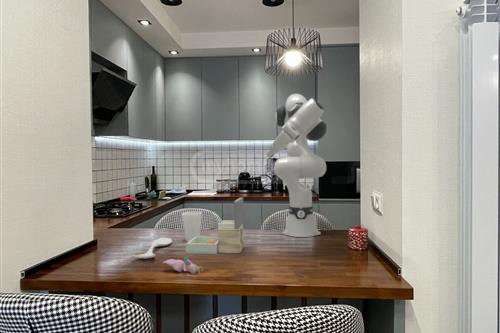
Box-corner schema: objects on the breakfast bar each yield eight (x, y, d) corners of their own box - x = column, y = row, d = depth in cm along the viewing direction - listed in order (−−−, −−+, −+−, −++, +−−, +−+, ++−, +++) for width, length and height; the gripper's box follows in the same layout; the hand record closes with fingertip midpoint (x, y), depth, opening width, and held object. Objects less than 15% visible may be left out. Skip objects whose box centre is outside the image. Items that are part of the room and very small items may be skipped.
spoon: (130, 263, 131) (130, 254, 131) (155, 242, 163) (155, 235, 163) (154, 263, 131) (153, 254, 131) (174, 242, 163) (174, 235, 163)
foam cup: (204, 237, 170) (203, 211, 170) (200, 242, 161) (199, 214, 161) (185, 237, 171) (185, 211, 171) (180, 242, 162) (179, 214, 162)
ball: (210, 236, 149) (218, 240, 149) (206, 244, 150) (215, 248, 149) (207, 238, 145) (216, 242, 145) (204, 247, 146) (212, 251, 145)
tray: (195, 245, 155) (195, 236, 155) (223, 245, 153) (223, 236, 153) (186, 253, 142) (185, 243, 142) (216, 254, 140) (216, 244, 140)
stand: (223, 247, 151) (222, 226, 151) (243, 247, 150) (243, 226, 150) (218, 252, 142) (217, 231, 142) (239, 253, 141) (239, 231, 141)
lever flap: (243, 225, 152) (243, 197, 152) (238, 232, 138) (237, 201, 138) (224, 225, 153) (223, 197, 153) (216, 231, 140) (215, 201, 139)
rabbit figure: (204, 274, 120) (167, 264, 125) (206, 257, 120) (169, 248, 124) (196, 280, 114) (157, 269, 119) (198, 263, 114) (159, 252, 118)
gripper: (287, 128, 152) (266, 151, 154) (285, 124, 132) (260, 150, 134) (297, 138, 152) (276, 161, 154) (297, 135, 132) (272, 161, 133)
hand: (268, 156), depth 144 cm, fingers open, 8 cm apart
